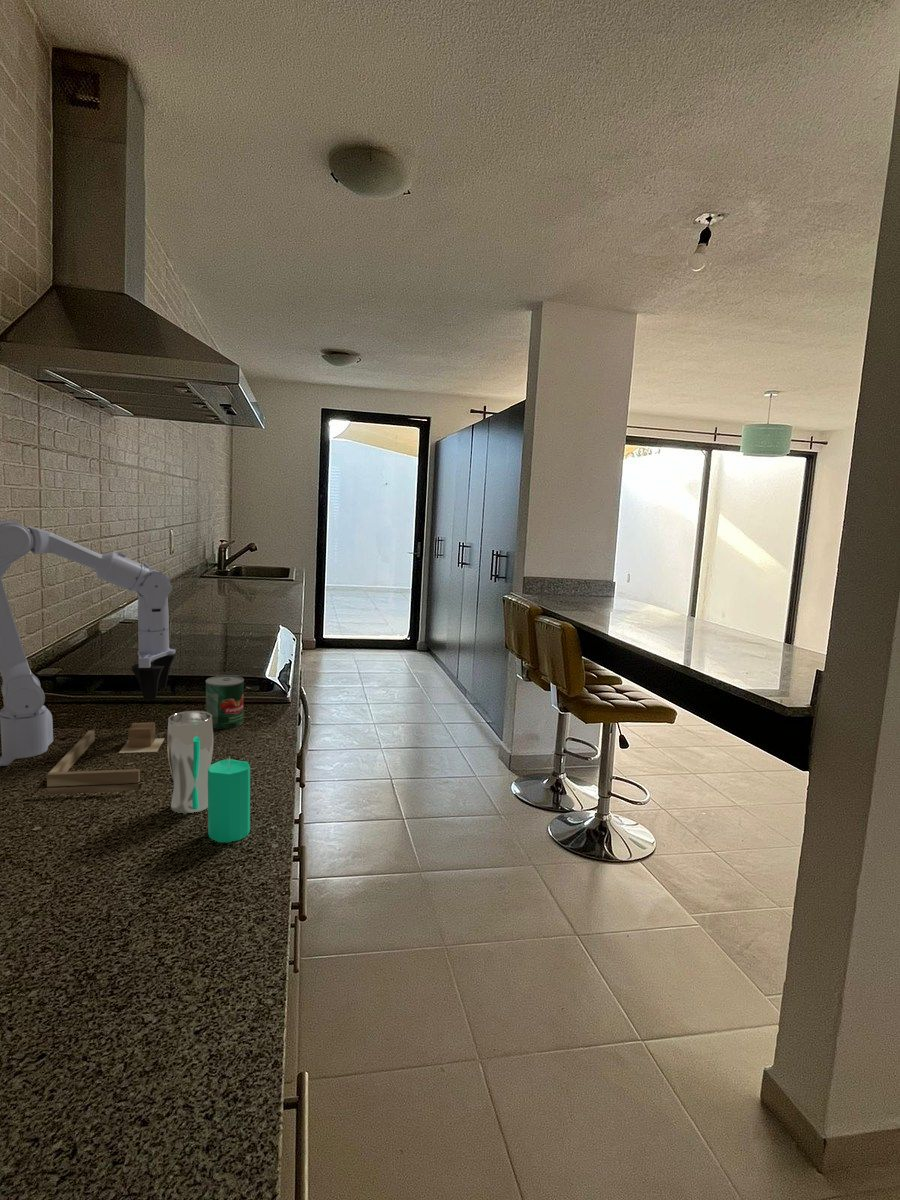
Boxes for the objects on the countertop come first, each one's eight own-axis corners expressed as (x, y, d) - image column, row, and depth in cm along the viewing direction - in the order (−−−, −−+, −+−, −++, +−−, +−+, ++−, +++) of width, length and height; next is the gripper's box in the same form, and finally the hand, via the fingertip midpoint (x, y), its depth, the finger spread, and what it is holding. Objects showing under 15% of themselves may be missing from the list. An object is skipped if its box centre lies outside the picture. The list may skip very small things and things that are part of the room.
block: (133, 739, 131) (133, 722, 131) (155, 739, 132) (154, 722, 132) (128, 746, 127) (128, 729, 127) (150, 746, 128) (150, 728, 128)
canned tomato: (236, 735, 140) (236, 685, 139) (199, 733, 140) (199, 683, 139) (248, 723, 148) (248, 676, 147) (213, 722, 148) (213, 674, 147)
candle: (237, 845, 96) (237, 766, 94) (199, 839, 97) (199, 761, 95) (257, 826, 101) (257, 751, 100) (221, 821, 103) (221, 747, 101)
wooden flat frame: (89, 747, 130) (89, 730, 130) (165, 744, 133) (164, 728, 133) (47, 794, 109) (46, 774, 108) (138, 790, 112) (138, 771, 112)
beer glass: (222, 802, 109) (222, 714, 107) (190, 819, 103) (189, 726, 101) (191, 793, 112) (191, 707, 110) (158, 809, 106) (156, 718, 104)
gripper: (165, 636, 127) (166, 704, 129) (182, 622, 141) (183, 684, 143) (126, 635, 126) (128, 704, 128) (147, 622, 140) (149, 684, 142)
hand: (155, 693), depth 135 cm, fingers open, 7 cm apart
